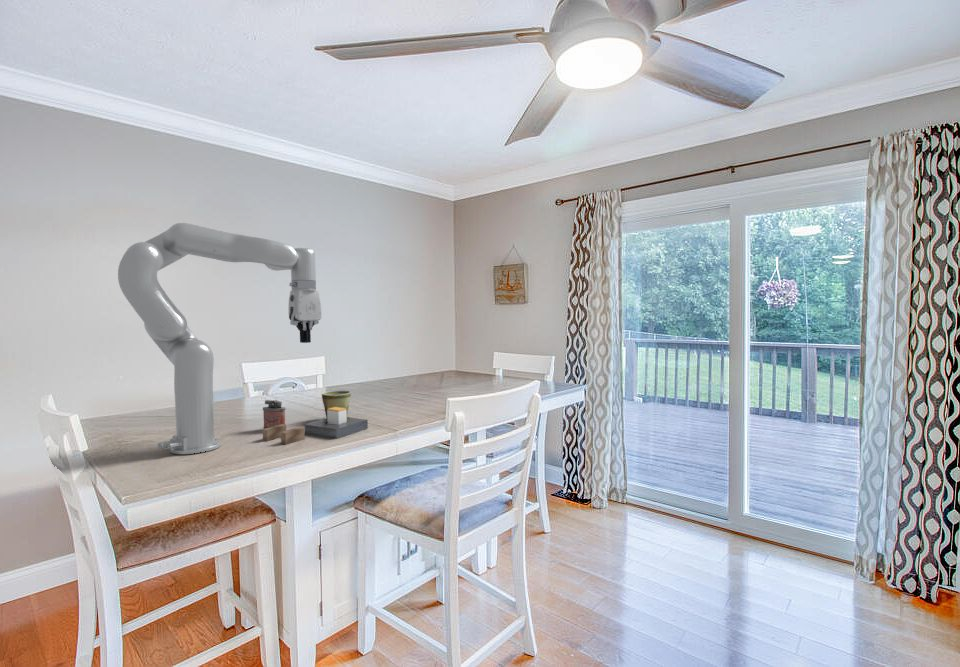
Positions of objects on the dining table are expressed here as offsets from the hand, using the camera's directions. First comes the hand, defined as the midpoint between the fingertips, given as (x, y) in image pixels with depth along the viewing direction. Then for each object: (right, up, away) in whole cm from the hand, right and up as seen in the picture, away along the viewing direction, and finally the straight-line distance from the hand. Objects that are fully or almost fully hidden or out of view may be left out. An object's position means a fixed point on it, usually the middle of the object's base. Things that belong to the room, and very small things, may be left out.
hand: (305, 342), depth 158 cm
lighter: (-11, -29, +2) cm, 31 cm away
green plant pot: (+6, -29, +16) cm, 33 cm away
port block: (+11, -29, -1) cm, 31 cm away
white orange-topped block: (+11, -29, 0) cm, 31 cm away
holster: (-3, -30, -11) cm, 32 cm away
